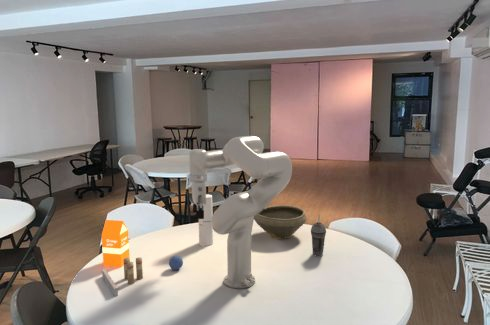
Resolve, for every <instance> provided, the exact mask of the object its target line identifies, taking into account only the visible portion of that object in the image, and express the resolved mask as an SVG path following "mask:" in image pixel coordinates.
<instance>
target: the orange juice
mask: <svg viewBox="0 0 490 325" xmlns="http://www.w3.org/2000/svg"><path fill="white" fill-rule="evenodd" d="M101 243H102V244H101V245H102V249H101V250H102V262H103V264H102V265H103V266H105V267H115V268H117V267H118V268H122V267H124V262H123V261H124V258H130V242H129V229H128V227H127V226H126V223H125V221H124V220H114V219H105V222H104V225H103V229H102V232H101Z"/></svg>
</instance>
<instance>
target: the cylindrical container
mask: <svg viewBox="0 0 490 325" xmlns="http://www.w3.org/2000/svg"><path fill="white" fill-rule="evenodd" d="M203 207H204V219H198V238H199V239H198V244H199V245H200V246H203V247H208V246H209V247H210V246H212V245H213V244H214V230H213V228H212V225H211V219H212V216H213V214H214V212H213V195H212V194H207V193H206V204H204V203H203Z"/></svg>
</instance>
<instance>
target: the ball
mask: <svg viewBox="0 0 490 325" xmlns="http://www.w3.org/2000/svg"><path fill="white" fill-rule="evenodd" d="M183 264H184V261H183V258H182V257H181V256H180V255H173V256H171V257H170V259H169V261H168V265H169V267H170V269H172V270H175V271H178V270H179V269H181V268H182V266H184V265H183Z"/></svg>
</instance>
